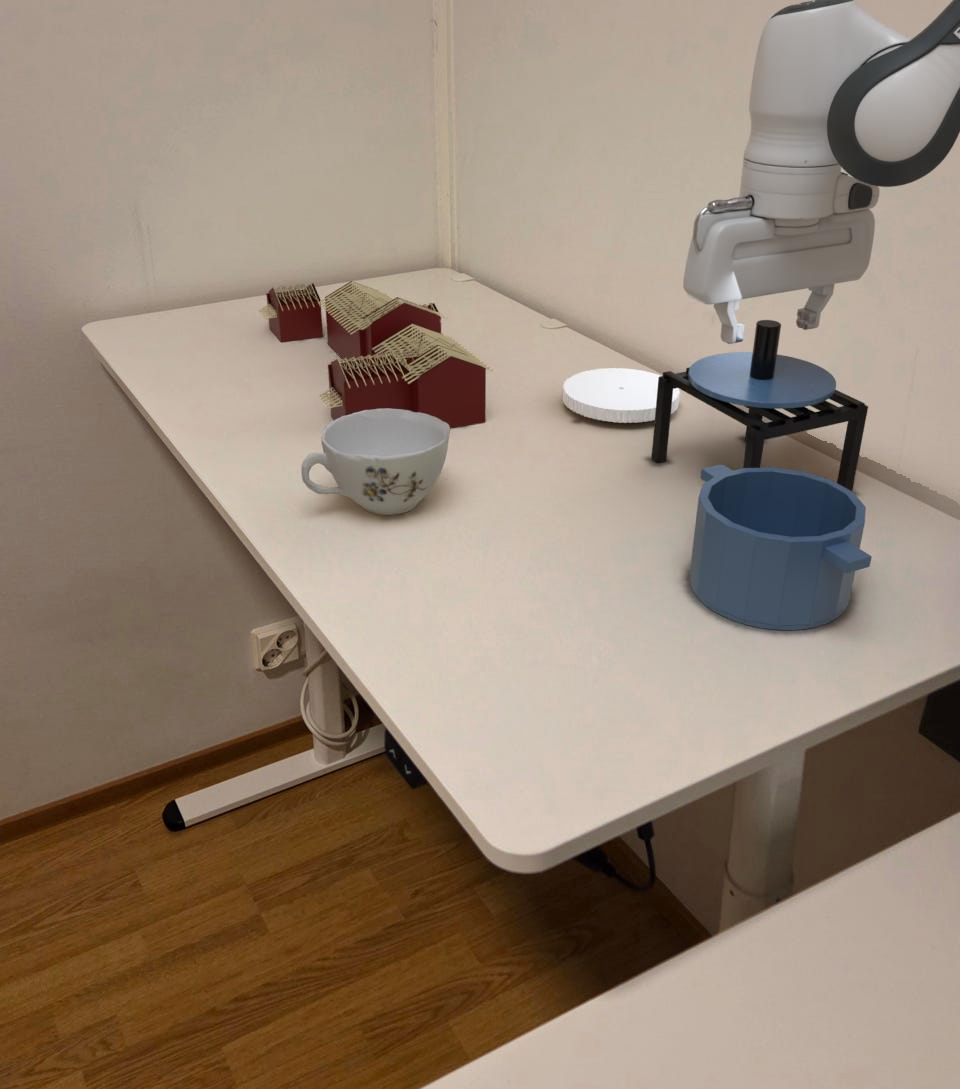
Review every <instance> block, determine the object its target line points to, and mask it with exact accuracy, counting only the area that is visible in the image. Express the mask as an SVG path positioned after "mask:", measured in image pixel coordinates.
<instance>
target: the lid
mask: <svg viewBox="0 0 960 1089" xmlns="http://www.w3.org/2000/svg"><path fill="white" fill-rule="evenodd" d="M781 328H782V324H781V322H779V321H777V320H773V319H761V320H760V319H759V320H757V321H756V323H755V330H754V339H753V346H752V351H735V352H724V353H723V352H722V353H717V354H713V355H708V356H705V357H702V358H699V359H698V360H696V361H695V362H694V363H692V364H691V365H690V369H689V374H688V378H689V381H690V383H691V384H692V385H693V387H695V388H696V389H697V390H699V391H700V392H702V393H704V394H706V395H708V396H710V397H713V398H715V399H718V400H721V401H725V402H728V403H730V404H732V405H736V406H737V405H738V406H743V407H745V406H749V407H757V408H771V409H776V410H778V409H780V410H784V409H786V408H799V407H806V408H807V407H811V405H815V404H818V403H821V402H823V401H828V400H830V399H829V398H830V397H831V396H832V395H833V394H834V392H835V390H837V380H836V378H835V377H834V375H833V374H832V373H831V372H830V371H828V370H827V369H825V368H824V367H822V366H820V365H818V364H815V363H813V362H811V361H807V360H804V359H800V358H797V357H794V356H788V355H783V354H778V351H779V345H780V344H779V343H780V336H781V330H782V329H781Z"/></svg>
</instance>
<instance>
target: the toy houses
mask: <svg viewBox="0 0 960 1089" xmlns="http://www.w3.org/2000/svg"><path fill="white" fill-rule="evenodd" d="M265 293H266V294H265V295H266V305H265V306H263V307H262V308H260V309H259V310H258V312H259V313H260V314H261V315H262V317H263V318H264V319H265V320H266V321H267V320H268V326H269V330H270V331H271V332H272V333H273V335H274V336H275V337H276V338H277V339H278V341H279V342H280V343H285V342H293V341H302V340H308V339H309V340H310V339H317V338H323V337H324V330H323V316H322V314H323V313H322V308H323V309H324V310H325V320H326V336H327V337H326V338H327V345H328V346H329V347H330V348H331V349H332V350H333V351H334V353H335V354H336V355H337V356H338V357H339V358H340V359H341V360H339V358H337V359H334V360H332V361H331V362H328V363H327V374H328V375H327V377H328V388H329V389H327V390H326V391H324V392H323V393H321V394H319V395H318V397H319V398H320V400H322V402H323V403H324V405H326V407H327V408H328V409H329V410H330V417H331V418H332V419H333V421H334V420H336V419H338V418H340V417H342V416H346V415H350V414H353V413H357V412H360V411H364V410H374V409H385V408H389V409H401V410H409V411H412V412H415V413H418V412H420V413H424V414H428V415H430V416H433V417H436V418H438V419H440V420H441V421H443V422H446V423H447V424H448V425H449V427H450V428H451V429H453V428H459V427H464V426H470V425H471V426H472V425H475V424H482V423H486V406H487V405H486V398H487V397H486V396H487V395H486V394H487V392H486V390H487V388H486V387H487V386H486V385H487V383H486V381H487V380H486V379H487V377H486V375H487V371H490V372H493V371H494V369H492V368H491V367H490V366H488V365H487V364H486V363H484V362H483V361H481V359H480V358H478V357H477V356H476V355H474V354H473V353H472V352H471V351H469V350H468V349H467V348H465V346H462V344H460V343H459V342H458V341H456V340H455V339H453V337H452V336H449V335H445V334H443V333H442V324H443V323H442V319H444V320H447V319H448V317H446V316H445V315H443V314H442V313H441V312H440V311H439V310H438V307H437V306H436V304H435V302H429V303H428V304H427V303H424V304H420V303H419V304H417V303H415V302H412V301H409V300H407V299H403V298H401V297H399V296H398V297H397V296H396V297H395V298H392V297H390V295H388V294H387V293H385V292H381V291H379V290H377V289H374V288H371V287H369V286H366V285H364V284H360V283H359V282H355V281H353V280H350V281H349V282H347V283H346V284H344V285H342V286H341V287H339V288H337V289H336V290H334V291H332V292H330V293H329V294H327V295H326V296H324V298H323V299H322V300H321V297H320V295H319V293H318V291H317V288H316V286H315V284H314V282H310V283H308V284H307V285H306V283H301V284H297V285H296V284H295V285H290V286H287V285H284V286H283V287H282V285H281V286H278V287H277V288H276V289H275V287H274V286H273V287H271V288H270V289H269V290H268V292H265Z"/></svg>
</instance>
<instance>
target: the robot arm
mask: <svg viewBox="0 0 960 1089" xmlns="http://www.w3.org/2000/svg"><path fill="white" fill-rule="evenodd" d="M750 85H751V86H750V94H749V103H748V111H749V116H750V133H749V138H748V141H747V144H746V146H745V149H744V152H743V158H742V168H741V177H740V185H739V186H740V187H739V195H738V196H737V197H732V198H728V199H715V200H712V201H709V202H708V204H707V206H705V207H704V208H702V209H701V210H700V212H699V213H698V214H697V215H696V216H695V218H694V220H693V230H692V237H691V239H690V244H689V249H688V253H687V258H686V262H685V266H684V267H685V268H684V272H683V282H682V287H683V290H684V292H685V293H686V295H687V296H688V298H690V299H692V300H694V301H696V302H699V303H702V304H703V305H707V306H710V305H713V307H714V310H715V313H716V315H717V317H718V319H719V321H720V323H721V328H720V340H721V341H722V342H724V343H726V344H727V345H733V344H736V343H742V342H743V341H744V338H745V336H744V334H745V332H746V325H745V324H743V323H739V322H738V319H737V316H736V314H735V311H739V309H740V304H741V303H740V302H741V300H746V299H751V298H759V297H764V296H769V295H775V294H783V293H789V292H795V291H801V290H806V289H808V291H810V295H809V296H808V298H807V301H806V303H805V305H804V306H803V308H798V309H797V312H796V316H797V318H796V321H795V326H796V327H797V328H799V329H802V330H805V331H807V330H813V329H817V328H819V326H820V321H821V314H822V312H823V311H824V309H825V308H826V306H827V305H828V303H829V301H830V300H831V298H832V297H833V295H834V292H835V285H836V284H843V283H847V282H849V283H850V282H854V281H855V282H856V281H858V280H860V279H861V278H862V277H863V275H864V274H865V273H866V272H867V270H868V268H869V265H870V262H871V256H872V251H873V244H874V237H875V228H876V226H875V225H876V220H875V219H876V218H875V215H874V212H873V211H872V209H873V208H875V207H876V206H877V204H878V203H879V202H878V201H879V197H880V187H881V188H882V187H883V188H893V187H901V186H904V185H907V184H911V183H913V182H916V181H918V180H920V179H922V178H924V177H925V176H927V175H928V174H930V173H931V172H933V171H934V170H936V168H937V167H938V166H939V165H940V164H942V162H943V161H944V160H945V159H946V157H947V156H948V155H949V153H950V152H951V150H952V148H953V147H954V145H955V143H956V141H957V139H958V137H959V134H960V0H952V1H951V2H950V3H949V4H948V5H947V6H946V7H945V8H944V9H943V10H942V11H941V12H940V13H939V15H937V17H936V18H934V20H933V21H931V23H929V24H928V25H927V26H926V27H925V28H924V29H923V30H922V31H920V32H919V33H918V34H916V35H915V36H914V37H911V36H909V35H907V34H904V33H902V32H901V31H898V30H895V29H894V28H892V27H890V26H889V25H887V24H884V23H883V22H881V21H880V20H878V19H877V18H875V17H874V16H873V15H871V14H870V13H869V12H867V11H866V10H864V8H862V7H861V5H859V3H858V2H857V1H856V0H808V1H803V2H799V3H796V4H791V5H788V6H785V7H783V8H782V9H779V10H778V11H776V12H775V13H774V14H773V15H772V16H771V17H770V18H769V19H768V20H767V22H766V23H765V24H764V27H763V29H762V32H761V35H760V37H759V41H758V45H757V50H756V55H755V60H754V66H753V73H752V79H751V84H750ZM842 170H843V171H845V172H846V173H845V172H843V171H842Z"/></svg>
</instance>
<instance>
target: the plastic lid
mask: <svg viewBox="0 0 960 1089" xmlns="http://www.w3.org/2000/svg"><path fill="white" fill-rule="evenodd" d="M660 376H661V375H660V374H656V373H654V372H651V371H647V370H642V369H640V370H639V369H636V368H635V369H633V368H622V367H620V368H619V367H610V368H609V367H605V368H604V367H603V368H602V367H601V368H596V369H591V370H590V369H588V370H584V371H581V372H579V373H578V372H577V373H576V374H573V375H571V376H570V377H568V378H566V380H564V382H563V384H562V395H561V396H562V398H561V399H562V403H563V405H565V407H567V409H569V410H570V411H572V412H573V413H576V414H577V415H580V416H583V417H585V418H586V417H587V418H589V419H592V420H597V421H602V422H609V423H611V422H613V423H619V424H621V423H624V424H627V423H629V424H631V423H636V424H637V423H643V422H645V423H646V422H652V421H655V412H656V401H657V390H658V379H659V377H660ZM680 398H681V389H679V388H675V389H673V396H672V406H671V414H674V413H675V412H676V411H677V410H678V409H679V407H680Z"/></svg>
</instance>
